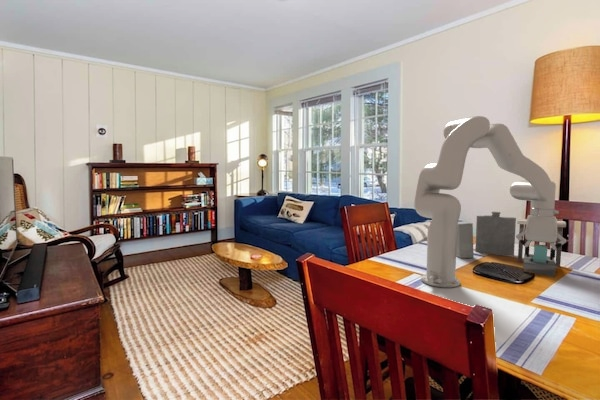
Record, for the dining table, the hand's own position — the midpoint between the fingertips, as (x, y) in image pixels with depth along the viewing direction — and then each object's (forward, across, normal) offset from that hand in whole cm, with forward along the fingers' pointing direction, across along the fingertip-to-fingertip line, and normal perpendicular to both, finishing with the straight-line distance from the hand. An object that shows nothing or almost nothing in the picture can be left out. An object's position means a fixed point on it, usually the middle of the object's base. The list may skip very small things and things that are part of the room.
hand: (539, 257), depth 133 cm
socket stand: (+5, 0, -3) cm, 6 cm away
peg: (+5, 0, 0) cm, 5 cm away
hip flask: (+6, +17, -21) cm, 28 cm away
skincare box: (+5, +29, -8) cm, 31 cm away
